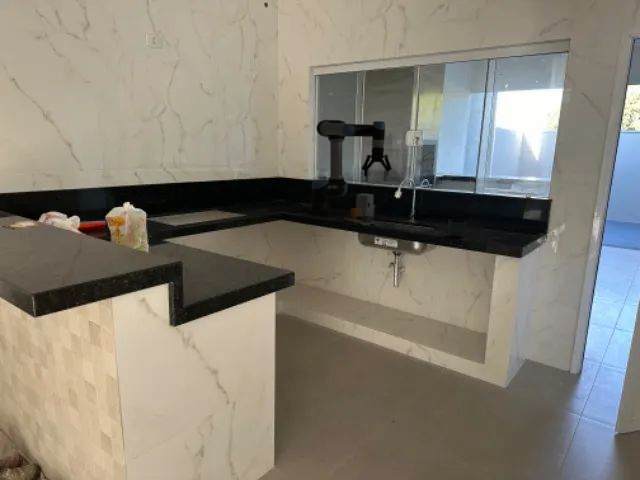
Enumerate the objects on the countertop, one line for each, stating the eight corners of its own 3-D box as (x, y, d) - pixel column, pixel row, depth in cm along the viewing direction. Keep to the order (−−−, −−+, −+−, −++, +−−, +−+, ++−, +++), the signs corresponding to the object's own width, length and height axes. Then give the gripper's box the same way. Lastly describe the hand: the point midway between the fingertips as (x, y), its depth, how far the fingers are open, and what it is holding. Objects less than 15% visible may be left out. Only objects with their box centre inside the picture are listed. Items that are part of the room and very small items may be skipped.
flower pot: (446, 234, 261) (448, 219, 259) (462, 235, 260) (464, 219, 258) (449, 237, 252) (450, 222, 250) (465, 238, 251) (467, 222, 249)
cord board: (344, 220, 297) (344, 212, 296) (359, 218, 303) (359, 211, 302) (363, 225, 280) (363, 217, 279) (378, 224, 286) (378, 216, 285)
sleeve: (350, 217, 296) (351, 208, 294) (358, 216, 299) (358, 208, 297) (354, 218, 292) (354, 209, 291) (361, 217, 296) (362, 208, 294)
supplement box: (366, 217, 309) (367, 195, 305) (355, 215, 314) (356, 194, 310) (373, 215, 316) (374, 194, 312) (362, 214, 321) (363, 193, 317)
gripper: (363, 147, 271) (361, 182, 277) (398, 147, 281) (396, 181, 286) (357, 146, 278) (355, 180, 283) (392, 146, 288) (389, 180, 293)
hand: (376, 181), depth 285 cm, fingers open, 13 cm apart
